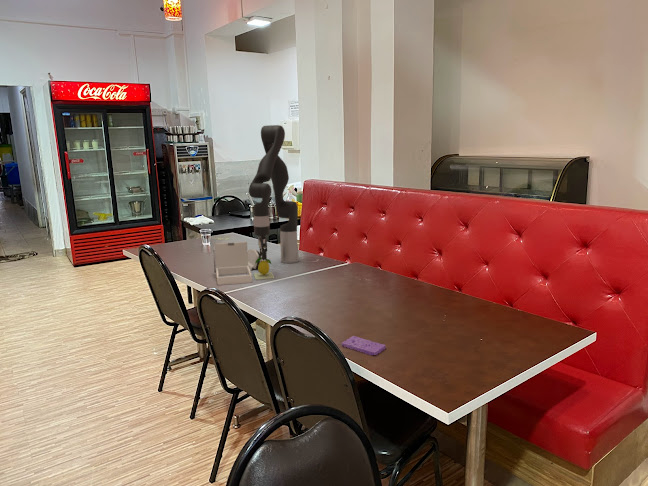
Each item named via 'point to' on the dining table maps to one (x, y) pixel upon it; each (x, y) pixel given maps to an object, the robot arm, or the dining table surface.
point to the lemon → (263, 266)
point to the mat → (263, 276)
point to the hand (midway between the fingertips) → (263, 257)
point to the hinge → (253, 259)
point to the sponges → (363, 345)
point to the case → (231, 263)
